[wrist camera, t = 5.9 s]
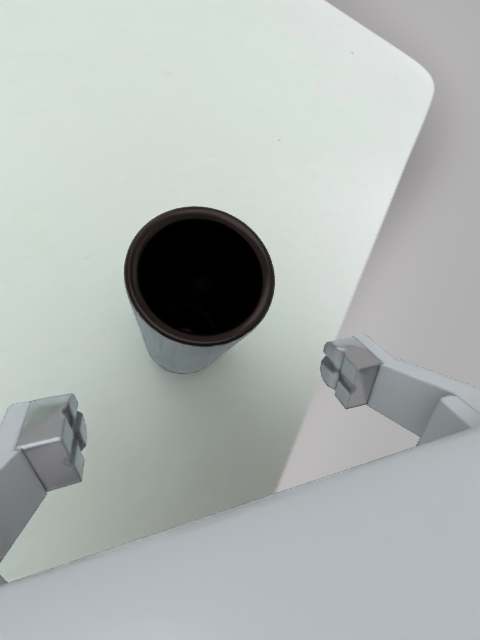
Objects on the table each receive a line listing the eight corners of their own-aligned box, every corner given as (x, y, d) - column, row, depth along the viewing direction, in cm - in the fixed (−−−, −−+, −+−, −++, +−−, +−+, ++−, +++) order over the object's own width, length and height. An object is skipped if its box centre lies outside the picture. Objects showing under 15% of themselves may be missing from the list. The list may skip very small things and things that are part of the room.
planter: (227, 312, 20) (287, 230, 10) (211, 382, 19) (260, 364, 9) (158, 292, 19) (150, 184, 9) (135, 363, 18) (99, 323, 8)
